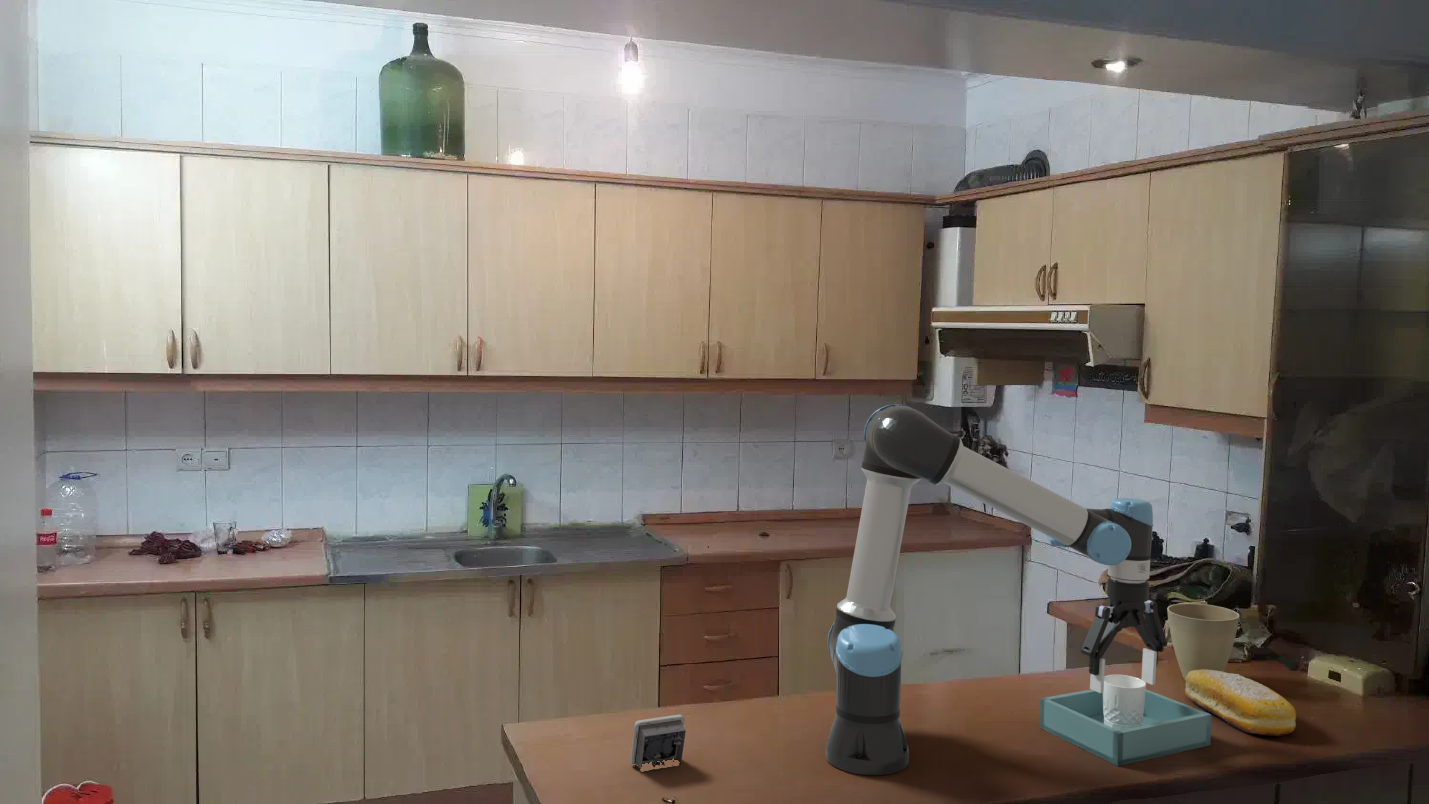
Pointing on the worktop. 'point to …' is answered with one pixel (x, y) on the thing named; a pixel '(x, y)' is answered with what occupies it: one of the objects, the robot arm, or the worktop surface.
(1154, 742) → the walled box
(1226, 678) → the bread
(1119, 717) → the white cup
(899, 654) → the robot arm
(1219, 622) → the plant pot
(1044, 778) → the worktop surface
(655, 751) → the electrical switch
